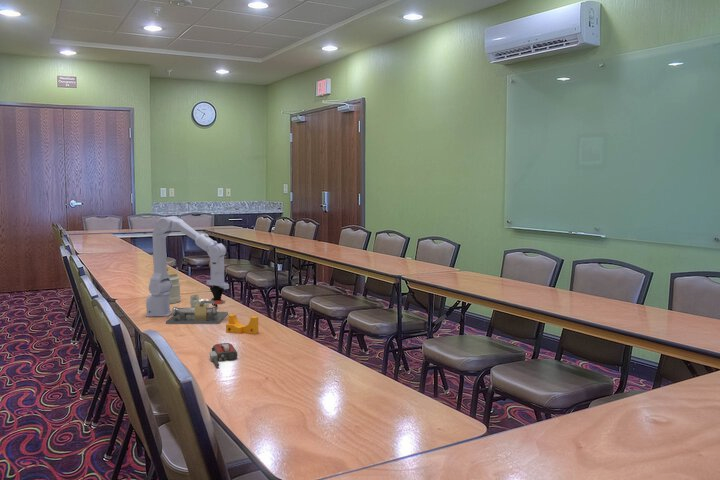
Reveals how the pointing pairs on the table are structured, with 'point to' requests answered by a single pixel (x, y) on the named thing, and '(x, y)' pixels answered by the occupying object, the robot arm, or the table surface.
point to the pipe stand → (196, 315)
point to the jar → (174, 286)
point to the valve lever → (212, 302)
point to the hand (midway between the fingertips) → (217, 303)
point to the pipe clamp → (238, 328)
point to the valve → (198, 301)
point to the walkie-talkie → (223, 353)
